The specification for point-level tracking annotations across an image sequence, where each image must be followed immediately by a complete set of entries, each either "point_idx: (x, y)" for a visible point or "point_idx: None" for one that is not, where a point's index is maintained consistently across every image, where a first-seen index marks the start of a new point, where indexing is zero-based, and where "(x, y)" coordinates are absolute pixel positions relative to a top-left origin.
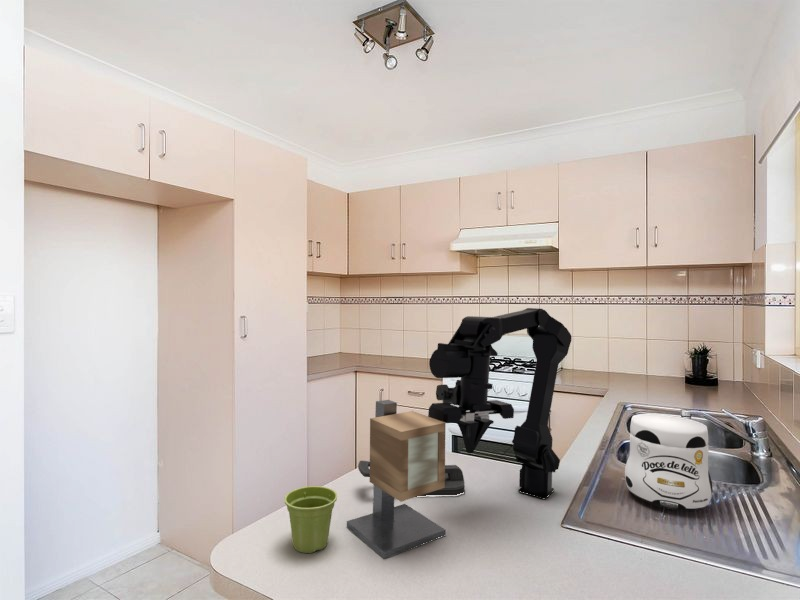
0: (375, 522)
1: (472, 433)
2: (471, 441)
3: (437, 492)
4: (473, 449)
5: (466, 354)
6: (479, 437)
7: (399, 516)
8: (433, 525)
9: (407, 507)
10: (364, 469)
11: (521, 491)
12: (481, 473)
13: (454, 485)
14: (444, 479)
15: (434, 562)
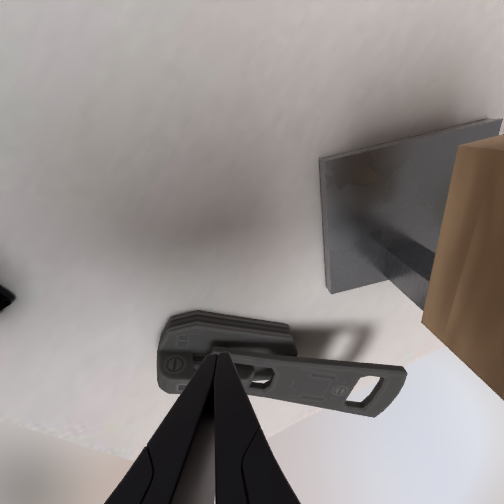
0: (427, 241)
1: (278, 499)
2: (247, 412)
3: (237, 323)
4: (207, 368)
5: None
6: (165, 454)
7: (374, 250)
8: (337, 190)
9: (335, 279)
10: (397, 385)
11: (5, 294)
12: (83, 387)
13: (194, 333)
14: (500, 148)
15: (417, 51)
